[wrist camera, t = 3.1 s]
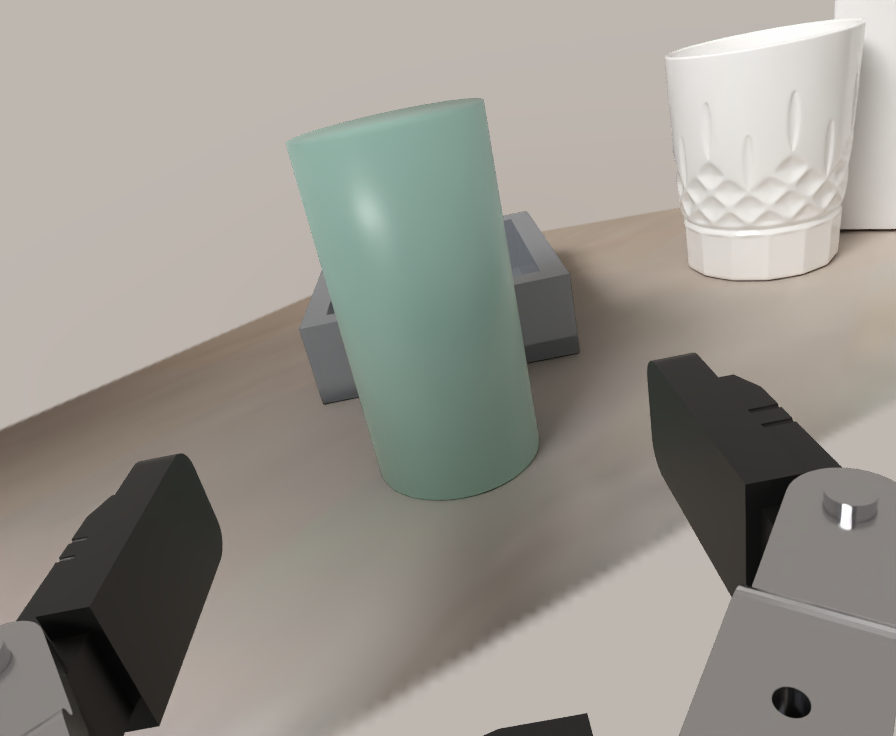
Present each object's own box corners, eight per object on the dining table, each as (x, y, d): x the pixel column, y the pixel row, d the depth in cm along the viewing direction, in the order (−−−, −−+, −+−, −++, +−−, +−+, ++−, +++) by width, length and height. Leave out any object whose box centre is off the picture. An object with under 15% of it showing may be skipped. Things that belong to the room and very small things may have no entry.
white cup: (674, 240, 38) (663, 49, 34) (831, 224, 36) (841, 14, 31) (677, 294, 32) (664, 64, 27) (870, 278, 29) (890, 22, 25)
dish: (323, 404, 29) (299, 329, 27) (345, 311, 39) (328, 252, 37) (579, 352, 28) (569, 273, 27) (535, 271, 38) (526, 210, 37)
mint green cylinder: (376, 514, 21) (267, 156, 16) (383, 424, 26) (301, 130, 22) (553, 480, 21) (494, 106, 16) (525, 396, 26) (474, 93, 21)
